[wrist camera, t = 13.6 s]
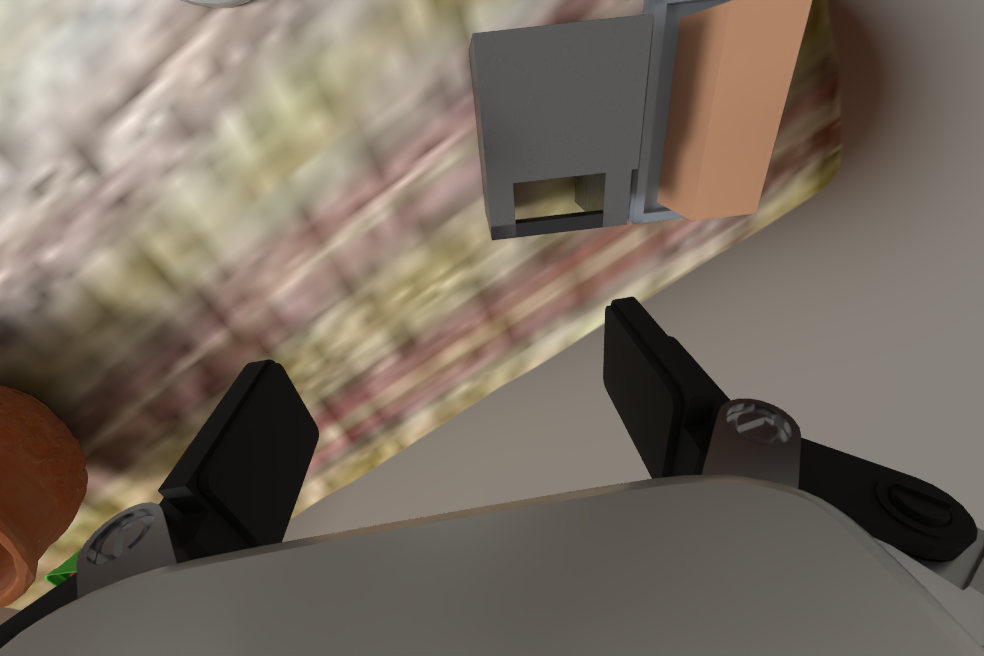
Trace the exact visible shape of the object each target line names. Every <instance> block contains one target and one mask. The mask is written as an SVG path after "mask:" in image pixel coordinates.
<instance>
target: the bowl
mask: <svg viewBox="0 0 984 656" xmlns="http://www.w3.org/2000/svg"><path fill="white" fill-rule="evenodd" d="M85 466H86V461H85V455H84V454H83V452H82V450H81V447H80V444H79V441H78V439H76V438H74V437H73V435H72V434H71V432H70V430H69V428H68V427H67V426H66V425H65V423H64V422H63V421H62V420H60V419H59V418H58V417H57V416H56V415H54V414H53V413H52V412H51V410H50V409H49V408H48V407H47V406H46V405H45V404H43V403H42V402H41V401H39V400H38V399H36V398H35V397H33V396H32V395H30V394H27V393H24V392H22V391H19V390H17V389H13V388H7V387H5V386H0V608H3V607H5V606H8V605H10V604H11V603H12V602H14V601H15V600H17V599H18V598H19V597H20V596H22V595H23V594H24V593H25V592H26V591H27V590H28V588H29V587H30V586H31V585H32V583H33V582H34V581H35V578H36V572H37V566H38V560H39V559H40V558H41V556H42V555H43V554H44V553H45V551H46V550H47V549H48V547H49V546H50V545H51V544H53V543H54V542H56V541H57V540H58V539H59V538H60V536H61V535H62V534H63V533H64V532H65V531H66V530H67V529H68V527H69V526H70V524H71V523H72V522H73V520H74V518H75V516H76V514H77V512H78V509H79V507H80V505H81V503H82V501H83V499H84V497H85V494H86V491H87V483H88V473H87V470H86V469H85V468H84V467H85Z"/></svg>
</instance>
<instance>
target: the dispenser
mask: <svg viewBox="0 0 984 656" xmlns="http://www.w3.org/2000/svg"><path fill="white" fill-rule="evenodd" d="M653 15H654V14H645V15H636V16H627V17H618V18H609V19H600V20H591V21H582V22H572V23H563V24H554V25H545V26H536V27H527V28H518V29H509V30H500V31H490V32H481V33H473V34H472V38H471V42H470V47H469V57H470V67H471V76H472V86H473V96H474V105H475V115H476V125H477V134H478V144H479V154H480V163H481V173H482V183H483V193H484V202H485V212H486V216H487V221H488V225H489V229H490V234H491V238H492V240H499V239H507V238H516V237H524V236H533V235H541V234H550V233H558V232H567V231H575V230H584V229H592V228H601V227H609V226H618V225H626V224H627V217H628V206H629V196H630V185H631V174H632V169H638V165H639V155H640V145H641V135H642V125H643V115H644V105H645V95H646V85H647V75H648V65H649V55H650V45H651V35H652V25H653ZM572 176H576V177H575V202H576V203H577V204H578V205H579V206H580V207H581V208H582V209H583V210H584V211H585V212H578V213H570V214H561V215H553V216H544V217H536V218H527V219H519V220H515V207H514V191H513V183H520V182H528V181H537V180H546V179H554V178H563V177H572Z"/></svg>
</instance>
